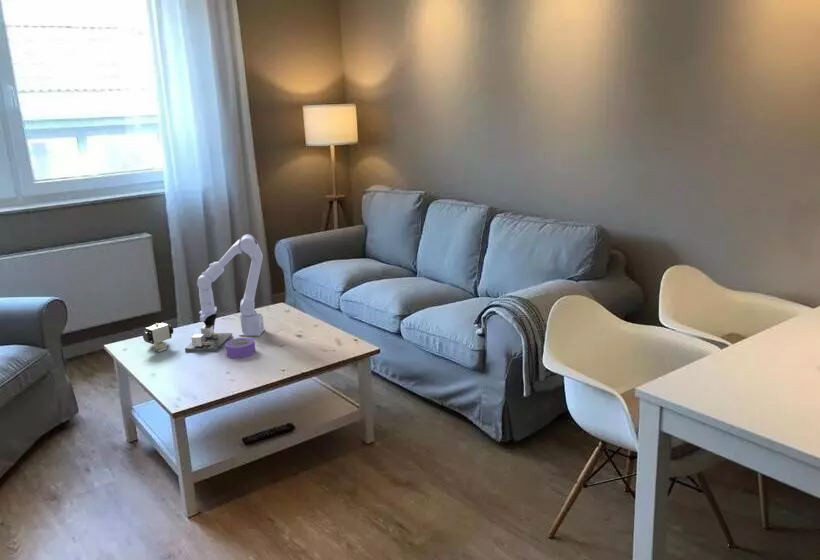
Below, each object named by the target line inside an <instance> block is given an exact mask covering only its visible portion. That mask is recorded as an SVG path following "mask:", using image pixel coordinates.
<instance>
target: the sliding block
mask: <svg viewBox="0 0 820 560" xmlns="http://www.w3.org/2000/svg"><path fill="white" fill-rule="evenodd" d="M214 333H215V327H214V328H213V325H205V324H204V325H203V326H201V328H200V334H204V337H211V336H212V335H216V337H217V336H218V334H214Z"/></svg>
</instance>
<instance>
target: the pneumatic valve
mask: <svg viewBox="0 0 820 560" xmlns="http://www.w3.org/2000/svg"><path fill="white" fill-rule="evenodd" d="M159 323H160V322H159ZM155 324H156V323H155ZM153 325H154V324H153ZM173 334H174V328H173V326H172V325H171V324H169V323H167V322H161V323H160V324H156V325H154V326H152V325H150V326H148V327H145V328H144V331H143V333H142V338H143V341H144V342H145V343H148V344H151V345H153V346H152V347H153V351H154V352H158V353H161V352H164V351H166V350H167V349H168V344H167V342H166V340H170V339H172V335H173Z"/></svg>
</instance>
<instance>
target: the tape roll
mask: <svg viewBox="0 0 820 560" xmlns="http://www.w3.org/2000/svg"><path fill="white" fill-rule="evenodd" d="M224 346H225V354H226V357H227V356H228V357H227V358H230V359H234V358H238V359H244V358H245V359H246V358H248V357H251V356H253V355H255V354H256V344H255V339H254V338H252V337H246V336H244V337H243V336H242V337H237V338H233V339H232V338H231V339H229V340H228V341H227V342H226V343H225V344H224Z"/></svg>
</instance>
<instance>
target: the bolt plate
mask: <svg viewBox="0 0 820 560" xmlns="http://www.w3.org/2000/svg"><path fill="white" fill-rule="evenodd" d="M214 334H218V336H217V337H216V335H212V336H211V337H204V334H201V333H194V335H192V336H191V338H190V339H191V342H190V343H189V344H188V345H187V346H186V347H185V348H184V350H185V352H187V353H188V352H189V353H194V352H195V353H197V352H198V353H201V352H213V353H214V352H215V353H216V352H219V351H220V350H221V348H222V347H224V346H225V344H226V342H227V341H229V340H231V339H232V338H233V333H232V332H228V333H227V332H224V333H221V332H217V333H215V332H214Z"/></svg>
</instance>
